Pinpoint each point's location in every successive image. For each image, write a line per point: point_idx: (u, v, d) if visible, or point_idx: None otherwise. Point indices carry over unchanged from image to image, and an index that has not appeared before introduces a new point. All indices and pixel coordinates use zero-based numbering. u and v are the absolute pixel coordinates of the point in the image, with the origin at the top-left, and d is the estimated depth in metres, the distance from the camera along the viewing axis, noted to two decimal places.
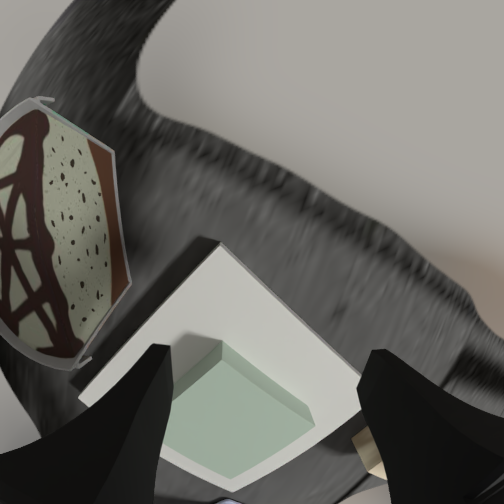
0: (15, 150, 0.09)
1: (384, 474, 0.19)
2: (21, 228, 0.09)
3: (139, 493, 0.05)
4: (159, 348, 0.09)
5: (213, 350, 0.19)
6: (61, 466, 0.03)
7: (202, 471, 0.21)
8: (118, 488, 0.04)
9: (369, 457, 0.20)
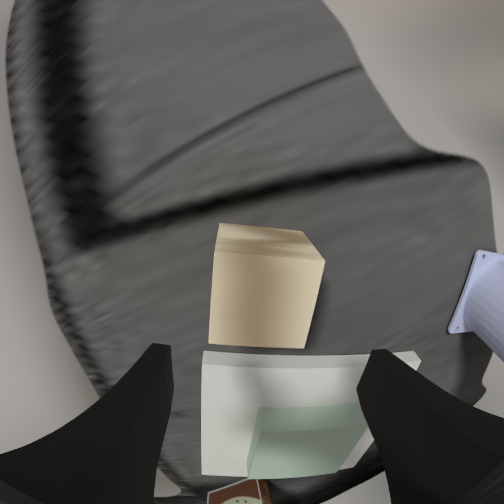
0: None
1: (305, 303, 0.14)
2: None
3: (139, 493, 0.05)
4: (159, 348, 0.09)
5: None
6: (61, 466, 0.03)
7: None
8: (118, 488, 0.04)
9: None
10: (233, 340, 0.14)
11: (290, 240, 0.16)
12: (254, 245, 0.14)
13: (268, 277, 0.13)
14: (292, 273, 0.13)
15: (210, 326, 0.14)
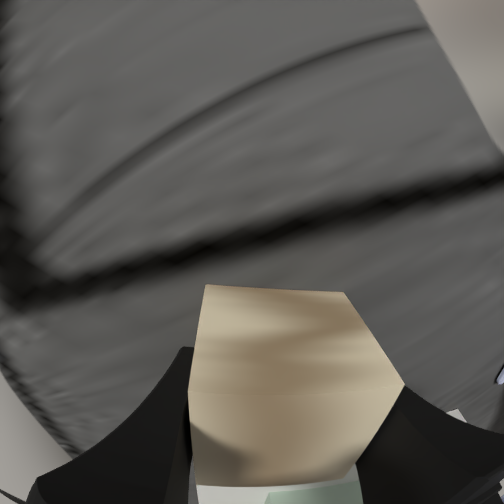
0: None
1: (357, 440, 0.07)
2: None
3: (181, 500, 0.05)
4: (191, 352, 0.09)
5: None
6: (113, 483, 0.03)
7: None
8: (172, 498, 0.04)
9: None
10: (235, 483, 0.07)
11: (332, 326, 0.08)
12: (271, 355, 0.07)
13: (298, 423, 0.06)
14: (344, 411, 0.06)
15: (196, 472, 0.07)
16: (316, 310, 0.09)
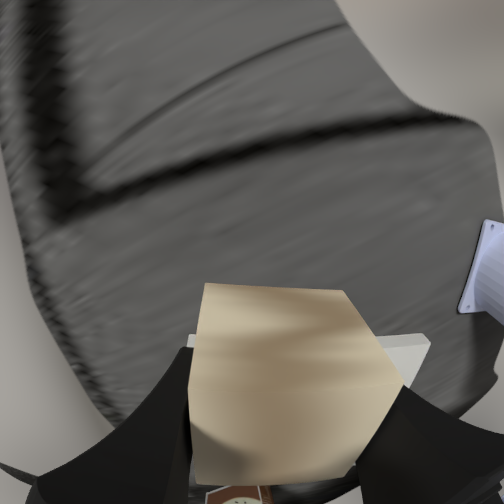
0: None
1: (358, 438, 0.07)
2: None
3: (181, 500, 0.05)
4: (191, 351, 0.09)
5: None
6: (113, 482, 0.03)
7: None
8: (172, 498, 0.04)
9: None
10: (235, 482, 0.07)
11: (332, 324, 0.08)
12: (271, 352, 0.07)
13: (298, 420, 0.06)
14: (345, 408, 0.06)
15: (196, 471, 0.07)
16: (316, 308, 0.09)
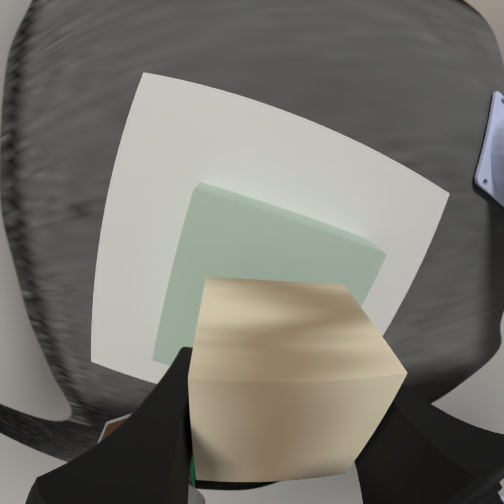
0: None
1: (360, 432, 0.07)
2: None
3: (181, 500, 0.05)
4: (191, 351, 0.09)
5: None
6: (113, 483, 0.03)
7: (407, 261, 0.16)
8: (172, 498, 0.04)
9: None
10: (235, 478, 0.07)
11: (333, 317, 0.08)
12: (272, 343, 0.07)
13: (300, 412, 0.06)
14: (347, 400, 0.06)
15: (196, 466, 0.07)
16: (317, 301, 0.09)
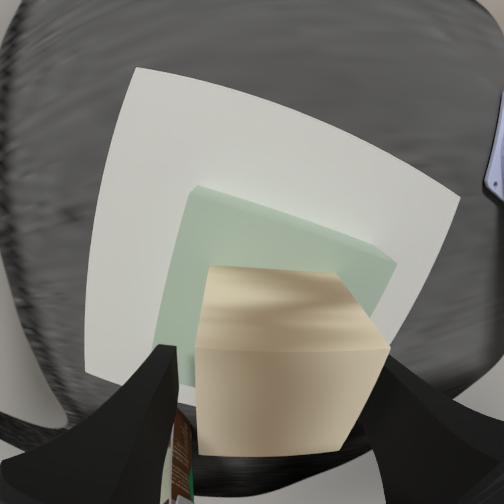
0: None
1: (350, 406, 0.08)
2: None
3: (147, 495, 0.05)
4: (165, 349, 0.09)
5: None
6: (70, 470, 0.03)
7: (416, 268, 0.15)
8: (128, 490, 0.04)
9: None
10: (236, 452, 0.08)
11: (324, 300, 0.09)
12: (268, 320, 0.08)
13: (293, 382, 0.07)
14: (335, 372, 0.07)
15: (199, 439, 0.08)
16: (310, 286, 0.10)
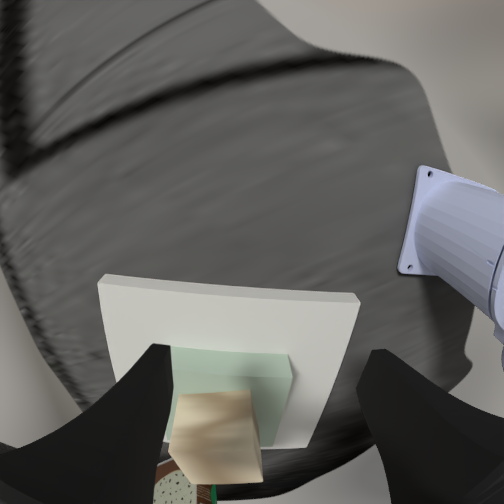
0: None
1: (250, 466, 0.14)
2: None
3: (139, 493, 0.05)
4: (159, 348, 0.09)
5: None
6: (61, 466, 0.03)
7: (330, 357, 0.21)
8: (118, 488, 0.04)
9: None
10: (207, 482, 0.15)
11: (232, 416, 0.16)
12: (200, 434, 0.15)
13: (213, 460, 0.14)
14: (230, 456, 0.14)
15: (188, 478, 0.15)
16: (229, 406, 0.17)
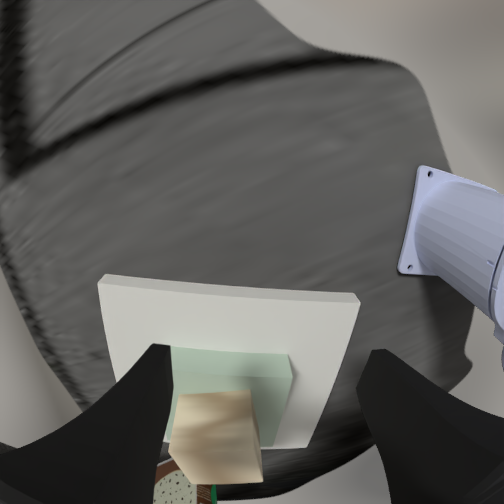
0: None
1: (250, 466, 0.14)
2: None
3: (139, 493, 0.05)
4: (159, 348, 0.09)
5: None
6: (61, 466, 0.03)
7: (330, 357, 0.21)
8: (118, 488, 0.04)
9: None
10: (207, 482, 0.15)
11: (232, 416, 0.16)
12: (200, 434, 0.15)
13: (213, 460, 0.14)
14: (230, 456, 0.14)
15: (188, 478, 0.15)
16: (229, 406, 0.17)
